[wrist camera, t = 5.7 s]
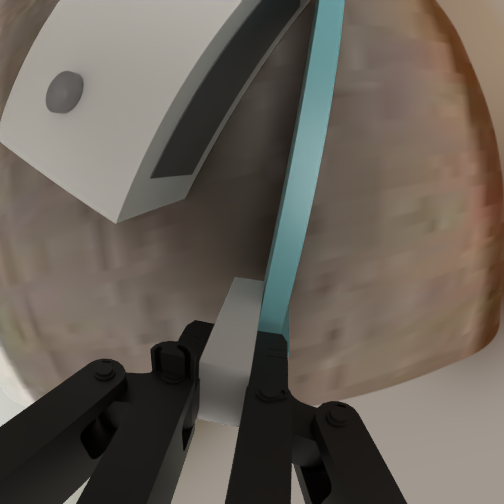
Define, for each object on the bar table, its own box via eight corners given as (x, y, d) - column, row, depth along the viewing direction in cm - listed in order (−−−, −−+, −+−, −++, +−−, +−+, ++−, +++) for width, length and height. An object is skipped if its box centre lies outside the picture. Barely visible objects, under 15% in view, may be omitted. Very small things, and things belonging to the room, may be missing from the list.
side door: (317, -8, 13) (329, -77, 5) (341, -3, 13) (364, -68, 5) (256, 313, 20) (242, 390, 13) (281, 318, 20) (278, 396, 13)
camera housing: (200, -45, 13) (165, -110, 4) (320, -11, 13) (335, -91, 4) (79, 139, 19) (-12, 138, 9) (185, 199, 19) (109, 227, 10)
